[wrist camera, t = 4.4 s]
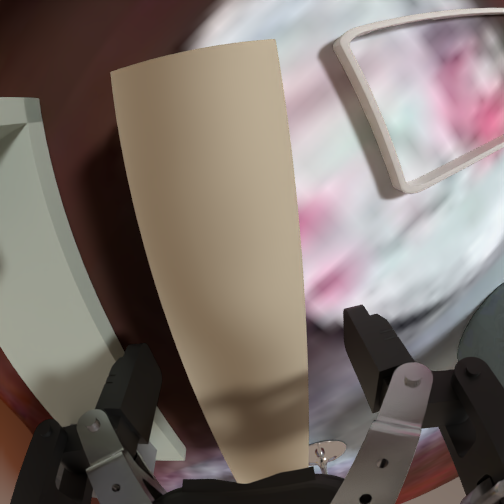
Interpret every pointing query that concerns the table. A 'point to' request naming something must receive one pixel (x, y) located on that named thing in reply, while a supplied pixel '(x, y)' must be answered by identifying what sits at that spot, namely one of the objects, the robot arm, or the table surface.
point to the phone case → (375, 116)
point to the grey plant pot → (487, 334)
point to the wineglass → (325, 453)
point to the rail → (224, 240)
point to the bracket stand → (53, 288)
